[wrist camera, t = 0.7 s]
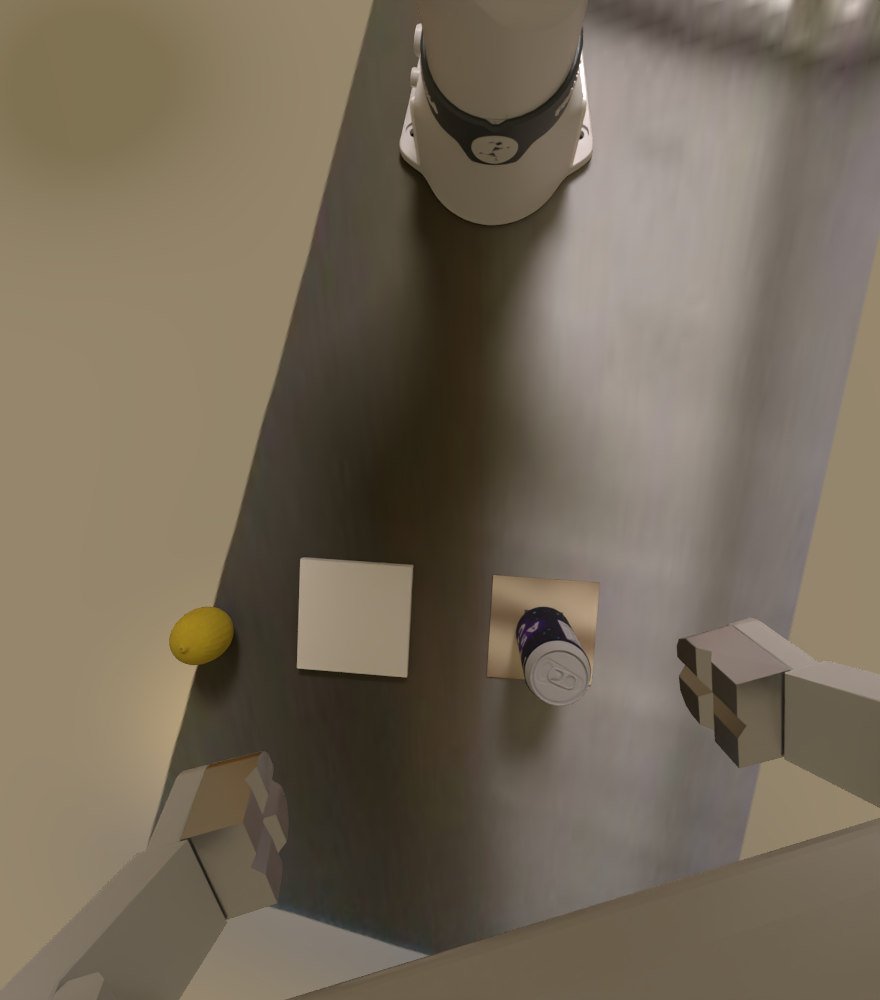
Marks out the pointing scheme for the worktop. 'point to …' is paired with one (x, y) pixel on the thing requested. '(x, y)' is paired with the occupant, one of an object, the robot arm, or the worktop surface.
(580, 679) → the beverage can
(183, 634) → the lemon
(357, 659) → the mat
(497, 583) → the pad
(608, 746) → the worktop surface
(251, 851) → the robot arm
